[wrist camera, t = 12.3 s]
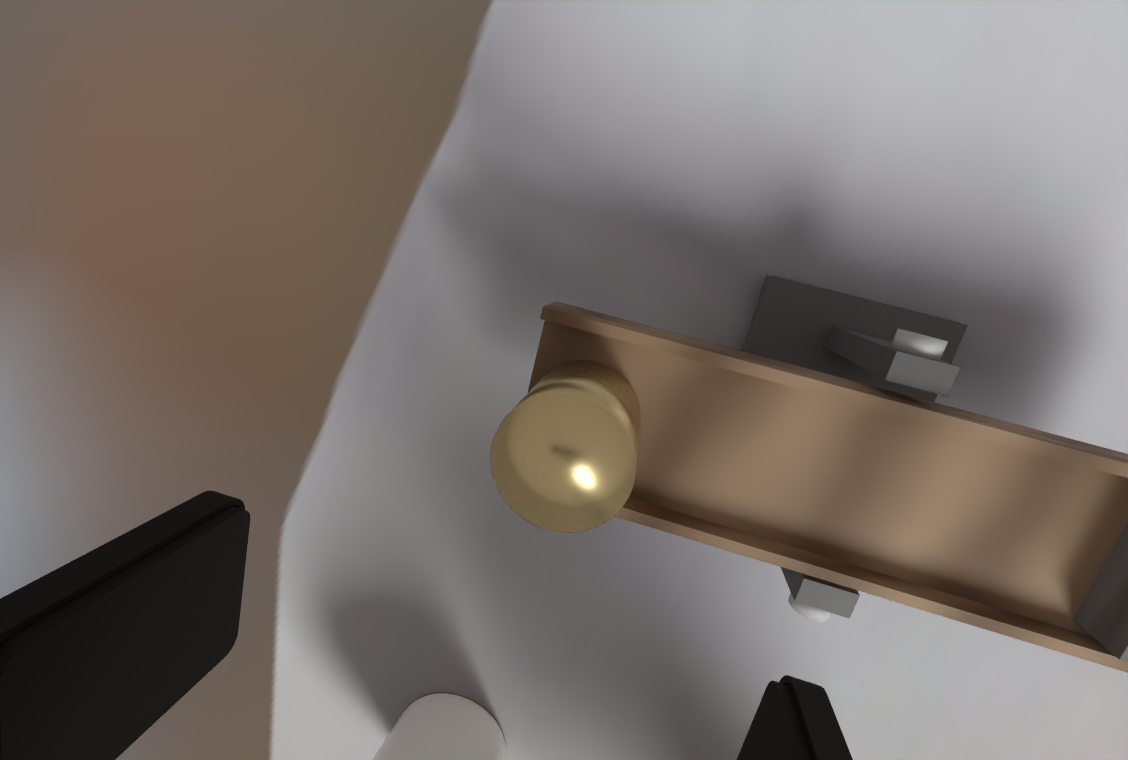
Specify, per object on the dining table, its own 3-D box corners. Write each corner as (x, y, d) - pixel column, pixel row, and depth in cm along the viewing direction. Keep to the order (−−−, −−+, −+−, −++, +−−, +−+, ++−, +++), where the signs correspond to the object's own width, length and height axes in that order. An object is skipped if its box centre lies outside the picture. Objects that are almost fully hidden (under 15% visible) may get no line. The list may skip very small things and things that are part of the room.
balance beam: (1270, 492, 22) (1398, 542, 18) (1168, 654, 24) (1264, 729, 20) (555, 301, 25) (536, 309, 21) (517, 459, 27) (494, 492, 23)
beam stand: (955, 322, 29) (1085, 351, 20) (851, 564, 33) (922, 677, 24) (767, 275, 30) (814, 283, 21) (687, 515, 34) (698, 606, 25)
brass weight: (619, 345, 24) (607, 373, 18) (656, 451, 24) (655, 512, 19) (513, 380, 25) (469, 418, 19) (551, 481, 25) (520, 547, 20)
